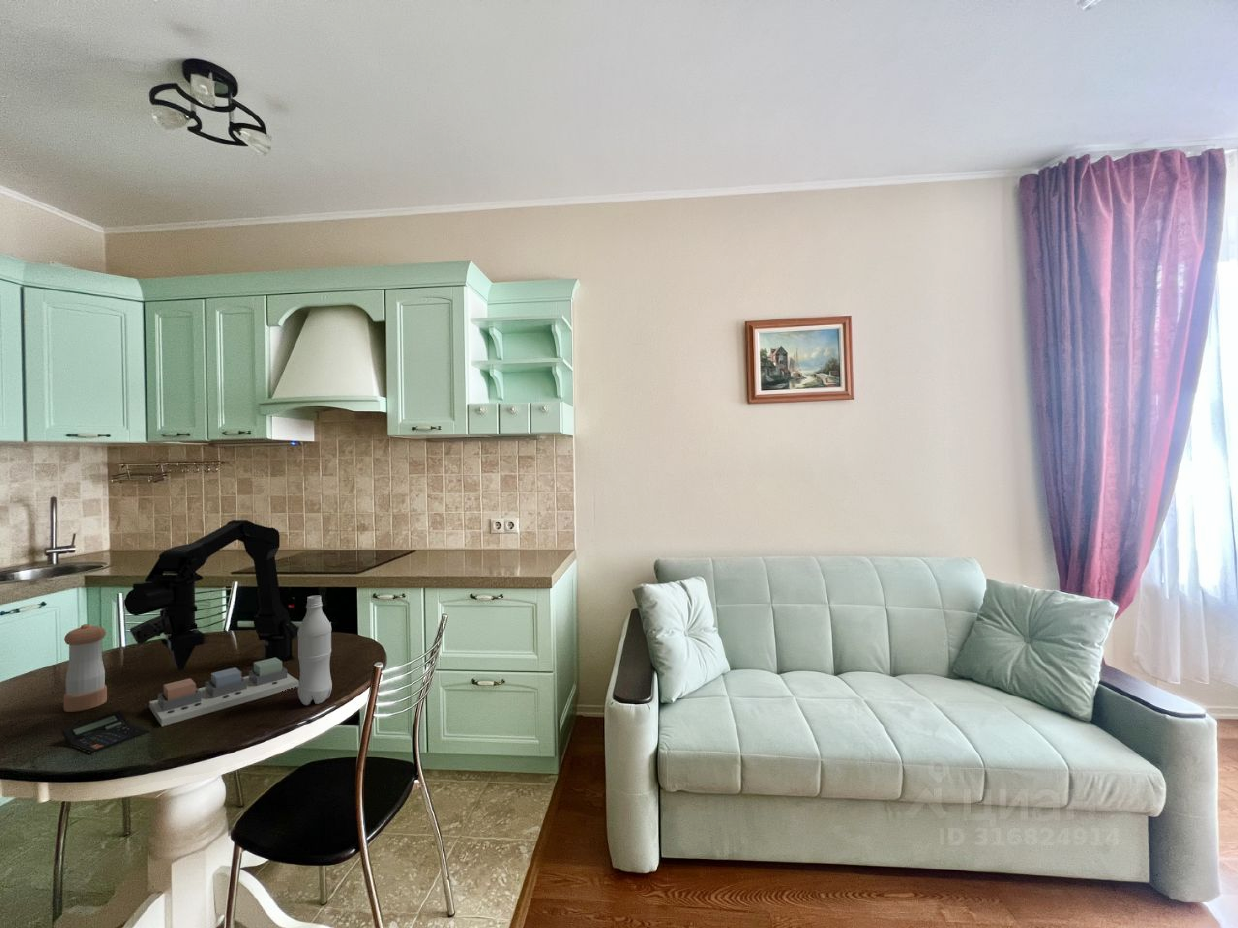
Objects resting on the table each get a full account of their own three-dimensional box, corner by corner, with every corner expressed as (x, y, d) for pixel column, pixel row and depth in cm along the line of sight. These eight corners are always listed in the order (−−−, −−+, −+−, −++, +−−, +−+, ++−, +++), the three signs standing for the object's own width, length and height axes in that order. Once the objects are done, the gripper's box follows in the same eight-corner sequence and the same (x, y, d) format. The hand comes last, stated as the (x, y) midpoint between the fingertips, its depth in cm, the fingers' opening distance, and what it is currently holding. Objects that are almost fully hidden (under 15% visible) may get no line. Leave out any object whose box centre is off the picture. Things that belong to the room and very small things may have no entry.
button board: (279, 673, 146) (279, 660, 146) (298, 686, 137) (298, 672, 137) (149, 707, 125) (149, 692, 125) (161, 726, 116) (161, 709, 116)
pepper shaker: (73, 701, 129) (73, 622, 129) (112, 696, 132) (112, 618, 132) (56, 714, 122) (56, 630, 122) (97, 708, 125) (97, 626, 125)
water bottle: (338, 696, 131) (338, 594, 131) (313, 709, 124) (312, 601, 124) (316, 692, 133) (315, 592, 133) (290, 704, 126) (289, 599, 126)
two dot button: (235, 677, 135) (235, 667, 135) (241, 682, 132) (241, 672, 132) (211, 683, 131) (210, 673, 131) (216, 688, 128) (216, 678, 128)
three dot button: (190, 688, 128) (190, 678, 128) (195, 694, 125) (195, 683, 125) (163, 695, 125) (163, 684, 125) (168, 701, 121) (168, 690, 121)
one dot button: (275, 666, 142) (275, 657, 142) (282, 671, 139) (282, 661, 139) (253, 672, 138) (253, 662, 138) (260, 677, 135) (259, 667, 135)
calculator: (91, 755, 105) (91, 740, 105) (61, 744, 110) (61, 729, 110) (148, 733, 114) (148, 719, 114) (118, 723, 118) (118, 710, 118)
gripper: (126, 603, 125) (126, 670, 125) (140, 618, 113) (141, 692, 113) (186, 594, 133) (187, 657, 133) (206, 607, 121) (206, 675, 121)
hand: (179, 669), depth 125 cm, fingers closed
